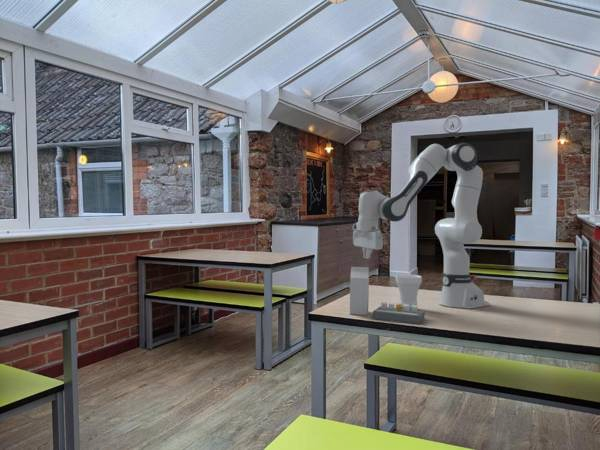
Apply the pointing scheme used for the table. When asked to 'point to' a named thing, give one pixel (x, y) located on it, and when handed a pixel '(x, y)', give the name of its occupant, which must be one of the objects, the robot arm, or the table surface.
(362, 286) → the milk carton
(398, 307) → the rocker switch
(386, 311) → the switch box
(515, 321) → the table surface
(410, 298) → the cup
